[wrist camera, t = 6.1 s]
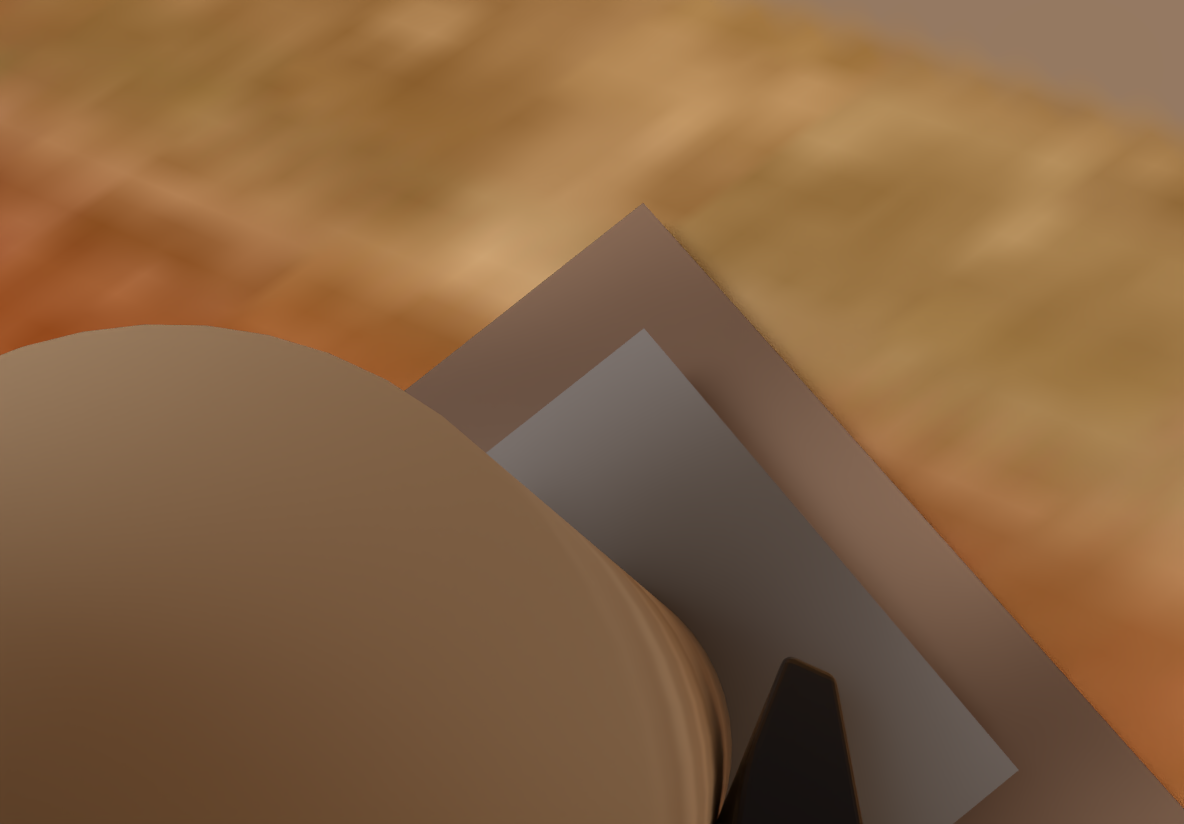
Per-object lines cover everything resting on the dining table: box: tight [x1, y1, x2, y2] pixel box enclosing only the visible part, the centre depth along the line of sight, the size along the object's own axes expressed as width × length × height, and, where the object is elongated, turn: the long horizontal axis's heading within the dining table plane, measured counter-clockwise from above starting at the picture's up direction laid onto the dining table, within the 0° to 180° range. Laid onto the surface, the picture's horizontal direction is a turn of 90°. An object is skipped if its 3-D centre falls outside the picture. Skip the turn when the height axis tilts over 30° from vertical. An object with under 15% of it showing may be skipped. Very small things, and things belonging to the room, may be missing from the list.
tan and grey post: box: [0, 325, 1018, 824], centre depth 9 cm, size 6×7×11 cm
